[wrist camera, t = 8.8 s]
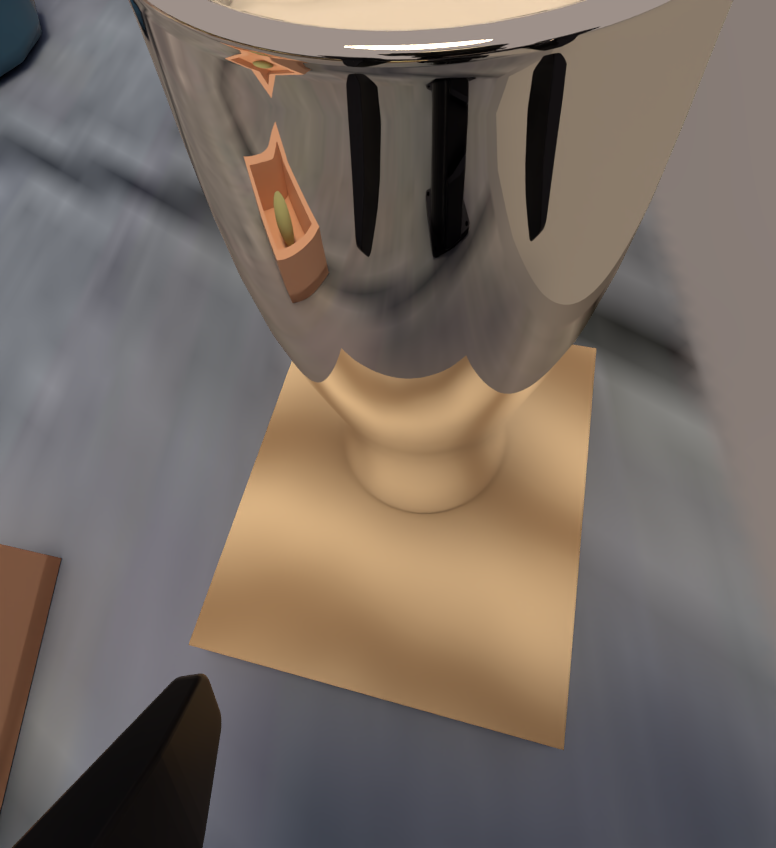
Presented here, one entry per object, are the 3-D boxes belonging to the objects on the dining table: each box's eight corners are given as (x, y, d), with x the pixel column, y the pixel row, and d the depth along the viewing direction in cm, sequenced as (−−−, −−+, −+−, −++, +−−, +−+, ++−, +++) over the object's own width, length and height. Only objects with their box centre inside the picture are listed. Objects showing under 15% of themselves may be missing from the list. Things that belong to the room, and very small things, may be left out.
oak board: (551, 740, 16) (563, 749, 14) (206, 644, 17) (188, 644, 16) (584, 367, 21) (596, 348, 20) (319, 324, 23) (312, 303, 21)
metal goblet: (471, 334, 20) (572, -312, 6) (551, 486, 17) (1027, -90, 4) (311, 389, 20) (51, -192, 6) (366, 556, 17) (117, 182, 3)
